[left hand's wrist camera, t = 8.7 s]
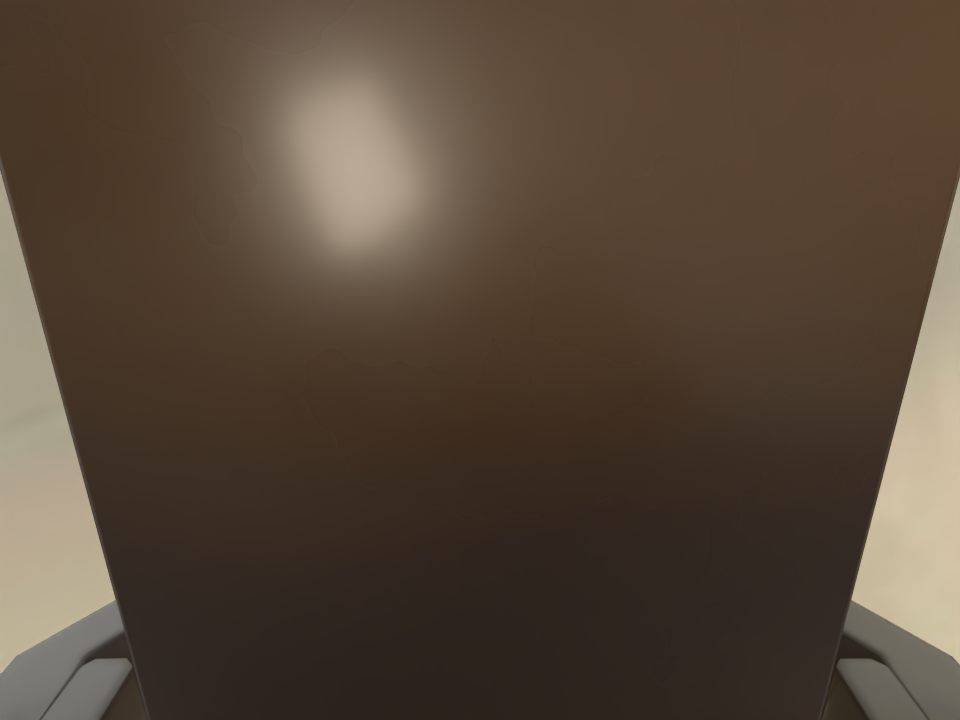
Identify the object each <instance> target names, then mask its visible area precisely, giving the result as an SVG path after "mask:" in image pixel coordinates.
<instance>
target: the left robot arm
mask: <svg viewBox="0 0 960 720" xmlns="http://www.w3.org/2000/svg"><path fill="white" fill-rule="evenodd" d="M0 720H148V718H147V714H146V710H145V706H144V703H143V699H142V695H141V691H140V688H139V684H138V680H137V677H136V673H135V669H134V665H133V662H132V658H131V654H130V651H129V647H128V643H127V639H126V636H125V632H124V628H123V624H122V621H121V617H120V613H119V610H118V606H117V602H116V600H115V601H113V602H111V603H110V604H108V605H106V606H104V607H103V608H101V609H99V610H97V611H96V612H94V613H92V614H90V615H88V616H87V617H85V618H83V619H81V620H80V621H78V622H76V623H74V624H72V625H71V626H69V627H67V628H65V629H64V630H62V631H60V632H58V633H57V634H55V635H53V636H51V637H49V638H48V639H46V640H44V641H42V642H41V643H39V644H37V645H35V646H34V647H32V648H30V649H28V650H26V651H25V652H23V653H21V654H19V655H18V656H16V657H15V659H14V660H13V661H12V662H11V663H10V664H9V666H8V667H7V668H6V669H5V670H4V671H3V672H2V674H1V675H0ZM820 720H960V665H959V664H958V662H957V661H956V660H955V659H954V658H953V657H952V656H950V655H948V654H947V653H945V652H943V651H941V650H939V649H938V648H936V647H934V646H932V645H931V644H929V643H927V642H925V641H923V640H922V639H920V638H918V637H916V636H915V635H913V634H911V633H909V632H907V631H906V630H904V629H902V628H900V627H898V626H897V625H895V624H893V623H891V622H890V621H888V620H886V619H884V618H882V617H881V616H879V615H877V614H875V613H874V612H872V611H870V610H868V609H866V608H865V607H863V606H861V605H859V604H857V603H856V602H854V601H852V600H851V602H850V606H849V610H848V613H847V617H846V621H845V625H844V629H843V633H842V637H841V641H840V645H839V649H838V652H837V656H836V660H835V664H834V668H833V672H832V676H831V680H830V684H829V688H828V691H827V695H826V699H825V703H824V707H823V711H822V715H821V719H820Z"/></svg>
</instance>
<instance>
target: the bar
mask: <svg viewBox="0 0 960 720" xmlns="http://www.w3.org/2000/svg"><path fill="white" fill-rule="evenodd" d="M0 170H1V174H2V177H3V181H4V185H5V189H6V192H7V196H8V200H9V204H10V207H11V211H12V215H13V218H14V222H15V226H16V230H17V233H18V237H19V241H20V245H21V248H22V252H23V256H24V259H25V263H26V267H27V271H28V274H29V278H30V282H31V285H32V289H33V293H34V297H35V300H36V304H37V308H38V312H39V315H40V319H41V323H42V326H43V330H44V334H45V338H46V341H47V345H48V349H49V353H50V356H51V360H52V364H53V367H54V371H55V375H56V379H57V382H58V386H59V390H60V394H61V397H62V401H63V405H64V408H65V412H66V416H67V420H68V423H69V427H70V431H71V434H72V438H73V442H74V446H75V449H76V453H77V457H78V461H79V464H80V468H81V472H82V475H83V479H84V483H85V487H86V490H87V494H88V498H89V502H90V505H91V509H92V513H93V516H94V520H95V524H96V528H97V531H98V535H99V539H100V542H101V546H102V550H103V554H104V557H105V561H106V565H107V569H108V572H109V576H110V580H111V583H112V587H113V591H114V595H115V598H116V602H117V606H118V610H119V613H120V617H121V621H122V624H123V628H124V632H125V636H126V639H127V643H128V647H129V651H130V654H131V658H132V662H133V665H134V669H135V673H136V677H137V680H138V684H139V688H140V691H141V695H142V699H143V703H144V706H145V710H146V714H147V718H148V720H820V719H821V715H822V711H823V707H824V703H825V699H826V695H827V691H828V688H829V684H830V680H831V676H832V672H833V668H834V664H835V660H836V656H837V652H838V649H839V645H840V641H841V637H842V633H843V629H844V625H845V621H846V617H847V613H848V610H849V606H850V602H851V598H852V594H853V590H854V586H855V582H856V578H857V575H858V571H859V567H860V563H861V559H862V555H863V551H864V547H865V543H866V539H867V536H868V532H869V528H870V524H871V520H872V516H873V512H874V508H875V504H876V500H877V497H878V493H879V489H880V485H881V481H882V477H883V473H884V469H885V465H886V462H887V458H888V454H889V450H890V446H891V442H892V438H893V434H894V430H895V426H896V423H897V419H898V415H899V411H900V407H901V403H902V399H903V395H904V391H905V388H906V384H907V380H908V376H909V372H910V368H911V364H912V360H913V356H914V352H915V349H916V345H917V341H918V337H919V333H920V329H921V325H922V321H923V317H924V313H925V310H926V306H927V302H928V298H929V294H930V290H931V286H932V282H933V278H934V275H935V271H936V267H937V263H938V259H939V255H940V251H941V247H942V243H943V239H944V236H945V232H946V228H947V224H948V220H949V216H950V212H951V208H952V204H953V201H954V197H955V193H956V189H957V185H958V181H959V177H960V0H0Z"/></svg>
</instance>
